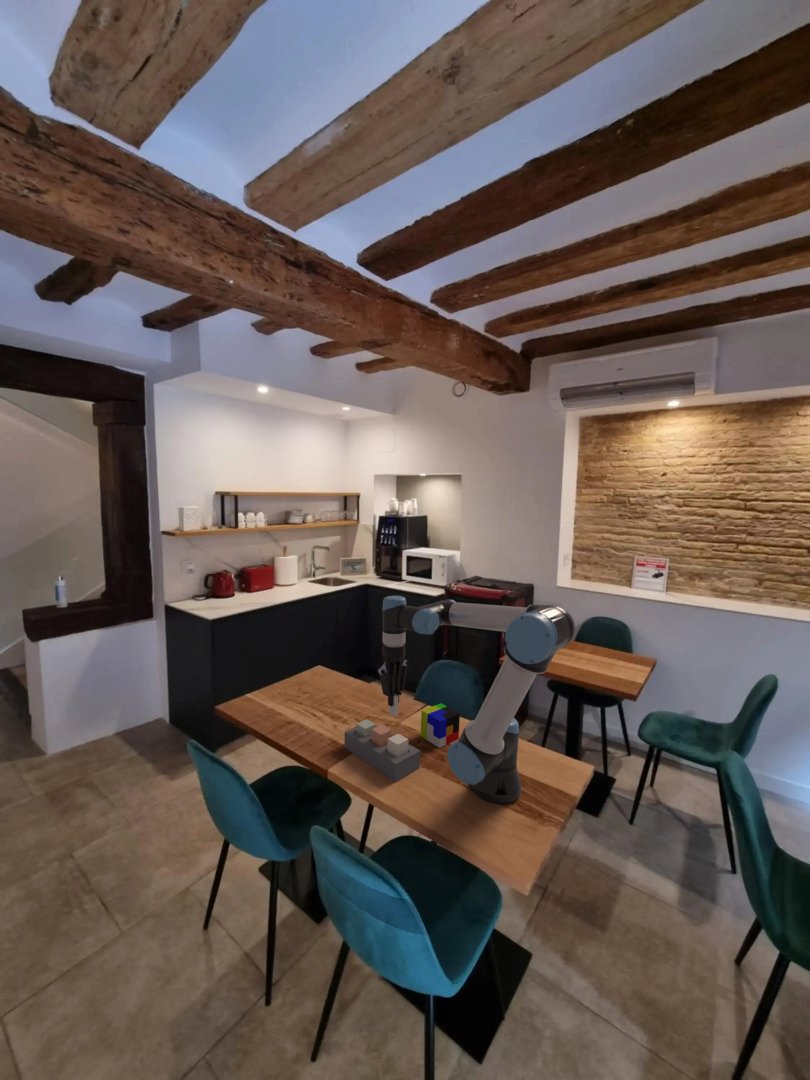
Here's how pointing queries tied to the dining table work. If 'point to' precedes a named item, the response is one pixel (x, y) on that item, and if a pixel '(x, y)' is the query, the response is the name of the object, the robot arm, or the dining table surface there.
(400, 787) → the dining table surface
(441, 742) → the puzzle toy
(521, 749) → the dining table surface
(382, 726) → the key terracotta
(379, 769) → the console
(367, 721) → the key sage
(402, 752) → the key ivory
